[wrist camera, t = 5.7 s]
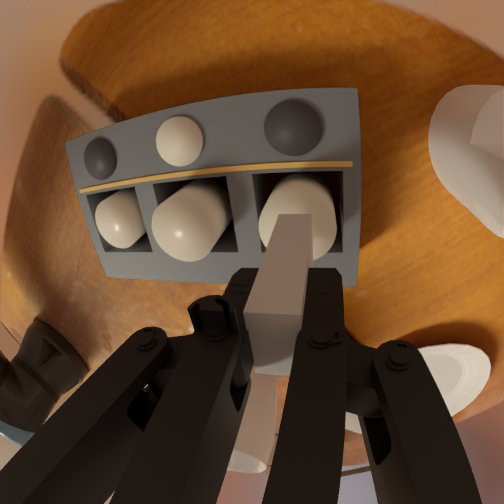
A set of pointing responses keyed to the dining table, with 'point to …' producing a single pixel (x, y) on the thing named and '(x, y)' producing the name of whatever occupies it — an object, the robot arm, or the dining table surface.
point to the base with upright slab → (472, 150)
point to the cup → (256, 426)
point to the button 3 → (302, 209)
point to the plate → (450, 376)
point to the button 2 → (192, 220)
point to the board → (223, 174)
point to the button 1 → (120, 218)
